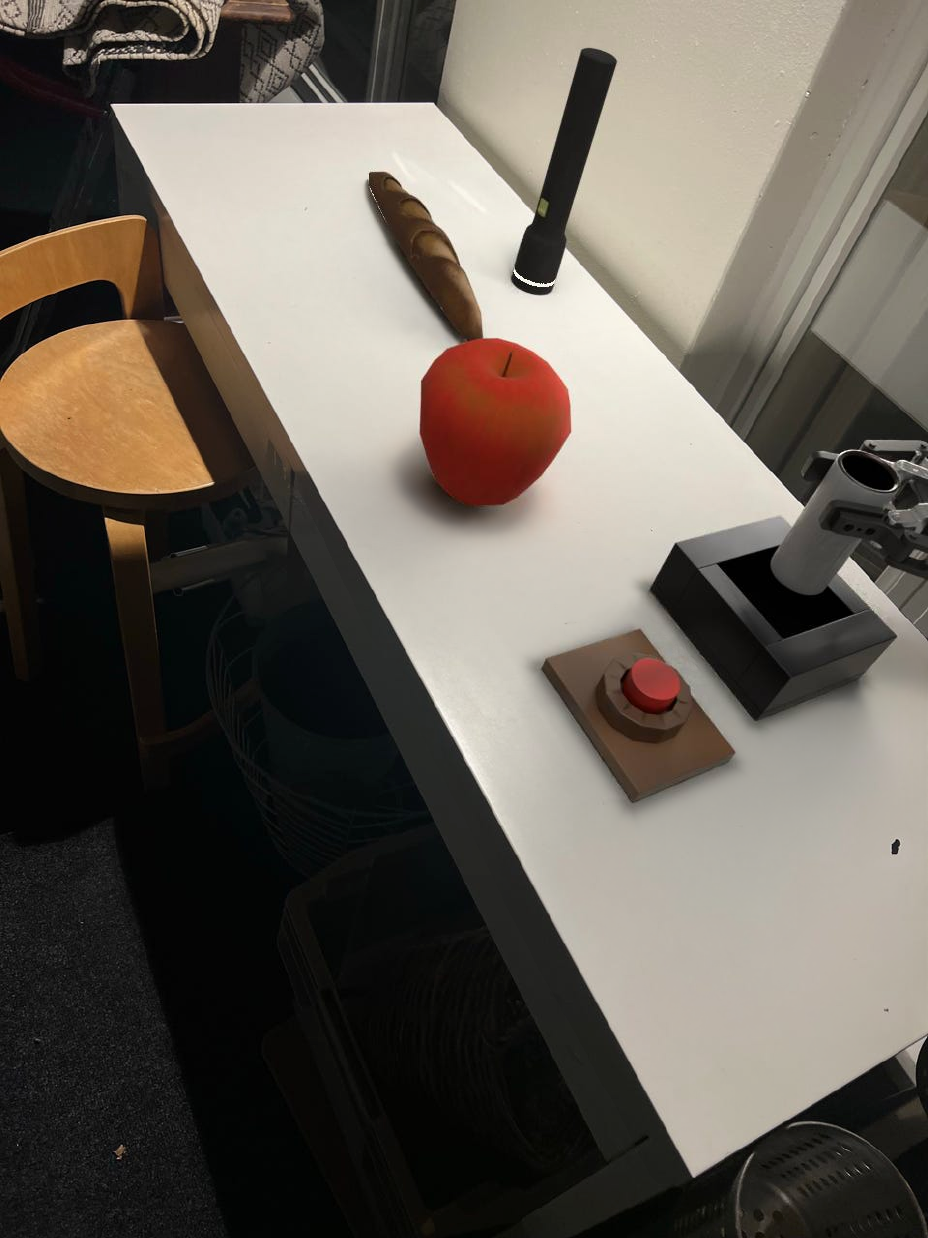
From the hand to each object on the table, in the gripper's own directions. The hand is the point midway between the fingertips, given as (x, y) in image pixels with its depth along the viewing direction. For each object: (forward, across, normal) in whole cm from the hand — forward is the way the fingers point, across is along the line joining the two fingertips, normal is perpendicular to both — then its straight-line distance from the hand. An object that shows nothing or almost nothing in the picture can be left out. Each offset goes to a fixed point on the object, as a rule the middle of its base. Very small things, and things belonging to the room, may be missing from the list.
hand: (817, 489), depth 63 cm
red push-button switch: (+9, +10, +15) cm, 20 cm away
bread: (+28, -49, +15) cm, 59 cm away
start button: (+9, +10, +12) cm, 18 cm away
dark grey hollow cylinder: (-3, 0, +8) cm, 9 cm away
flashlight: (+15, -50, +15) cm, 54 cm away
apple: (+22, -12, +15) cm, 29 cm away
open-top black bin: (-2, 0, +15) cm, 15 cm away
